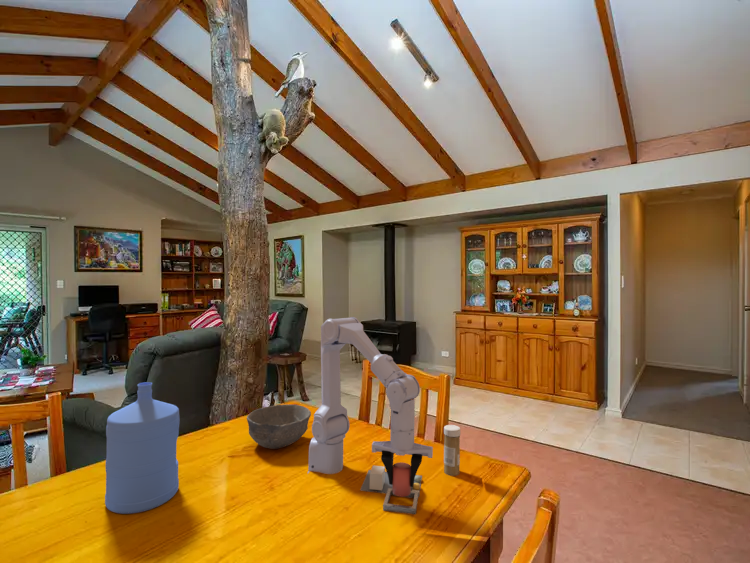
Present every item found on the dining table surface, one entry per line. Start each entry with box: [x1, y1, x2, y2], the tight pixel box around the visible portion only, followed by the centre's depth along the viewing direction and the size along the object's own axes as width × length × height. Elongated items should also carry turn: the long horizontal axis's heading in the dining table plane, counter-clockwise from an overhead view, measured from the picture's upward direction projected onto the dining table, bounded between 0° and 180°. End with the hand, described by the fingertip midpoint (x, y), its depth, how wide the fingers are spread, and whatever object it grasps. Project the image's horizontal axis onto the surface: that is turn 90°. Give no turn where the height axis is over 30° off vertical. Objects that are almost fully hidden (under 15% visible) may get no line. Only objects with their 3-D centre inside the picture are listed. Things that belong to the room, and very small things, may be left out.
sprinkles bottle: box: [443, 424, 461, 477], centre depth 111 cm, size 5×5×13 cm
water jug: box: [104, 381, 181, 515], centre depth 97 cm, size 16×16×28 cm
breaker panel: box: [359, 469, 423, 498], centre depth 104 cm, size 15×11×2 cm
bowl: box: [246, 404, 312, 450], centre depth 130 cm, size 21×21×10 cm
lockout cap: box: [392, 462, 411, 498], centre depth 94 cm, size 4×4×6 cm
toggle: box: [370, 465, 386, 490], centre depth 102 cm, size 3×4×4 cm
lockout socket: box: [382, 488, 419, 515], centre depth 95 cm, size 8×8×2 cm
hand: (401, 483), depth 95 cm, fingers closed on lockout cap, 4 cm apart
